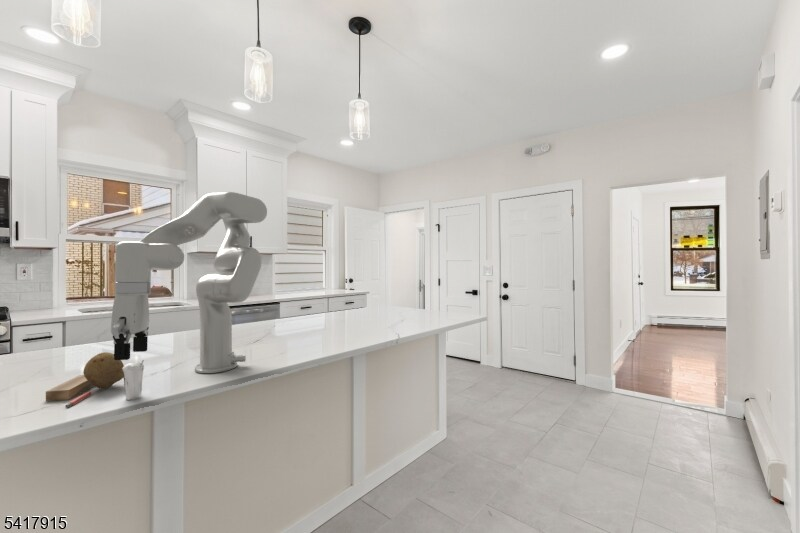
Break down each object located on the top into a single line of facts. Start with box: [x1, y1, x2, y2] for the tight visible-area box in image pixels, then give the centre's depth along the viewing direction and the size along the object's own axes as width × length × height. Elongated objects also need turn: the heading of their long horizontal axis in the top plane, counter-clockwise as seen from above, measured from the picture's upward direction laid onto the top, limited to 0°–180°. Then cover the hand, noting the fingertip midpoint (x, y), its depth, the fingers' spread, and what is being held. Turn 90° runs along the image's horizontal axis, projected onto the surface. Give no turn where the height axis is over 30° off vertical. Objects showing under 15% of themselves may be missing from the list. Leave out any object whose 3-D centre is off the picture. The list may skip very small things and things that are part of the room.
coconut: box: [83, 351, 125, 390], centre depth 102 cm, size 9×9×10 cm
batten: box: [45, 374, 95, 402], centre depth 100 cm, size 5×14×2 cm, turn 14°
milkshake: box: [122, 359, 145, 401], centre depth 94 cm, size 4×5×10 cm
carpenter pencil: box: [64, 391, 92, 409], centre depth 92 cm, size 1×9×1 cm, turn 14°
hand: (131, 355), depth 94 cm, fingers open, 9 cm apart
